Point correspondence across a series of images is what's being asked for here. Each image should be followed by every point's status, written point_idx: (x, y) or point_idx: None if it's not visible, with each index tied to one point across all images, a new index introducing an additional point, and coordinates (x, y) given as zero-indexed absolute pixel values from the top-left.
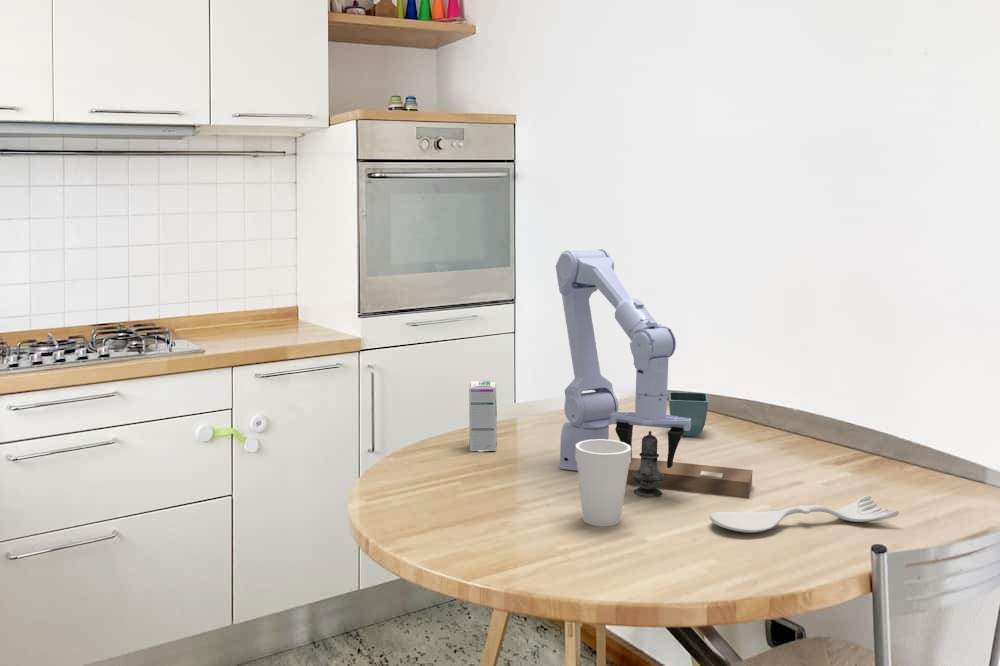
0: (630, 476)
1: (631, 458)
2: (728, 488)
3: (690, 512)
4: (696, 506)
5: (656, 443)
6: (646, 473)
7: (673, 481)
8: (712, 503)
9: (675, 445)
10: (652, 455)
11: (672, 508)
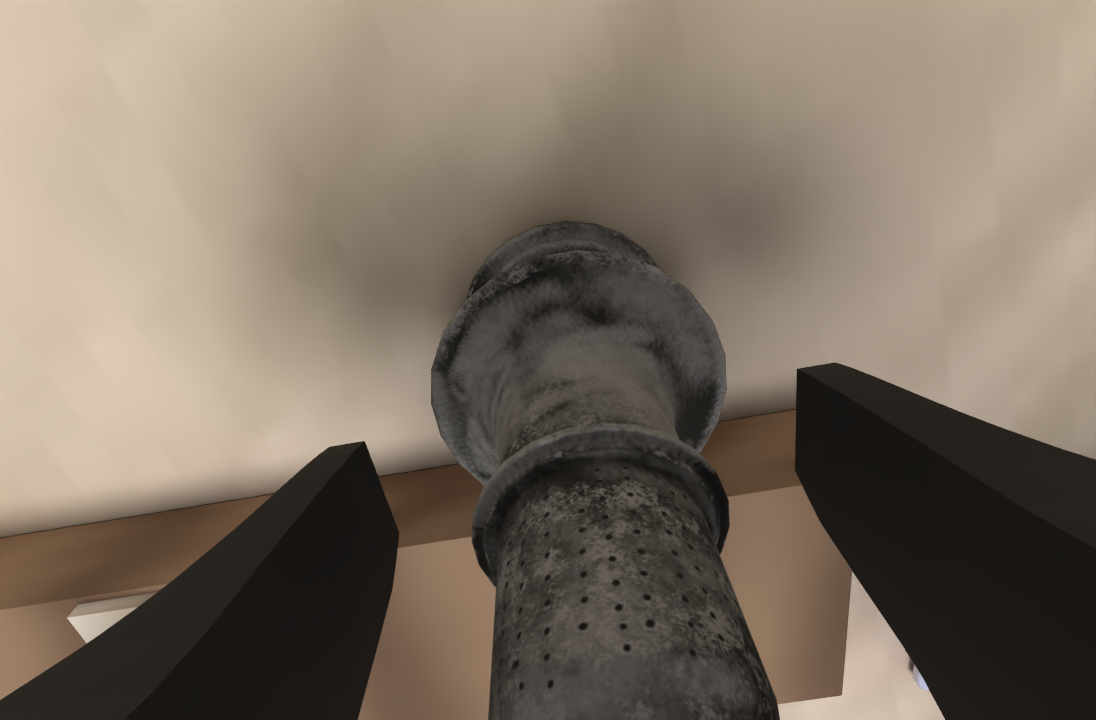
0: (753, 455)
1: (807, 486)
2: (66, 557)
3: (69, 49)
4: (127, 227)
5: (491, 691)
6: (572, 332)
7: (435, 505)
8: (83, 348)
9: (30, 683)
10: (528, 489)
11: (246, 71)
